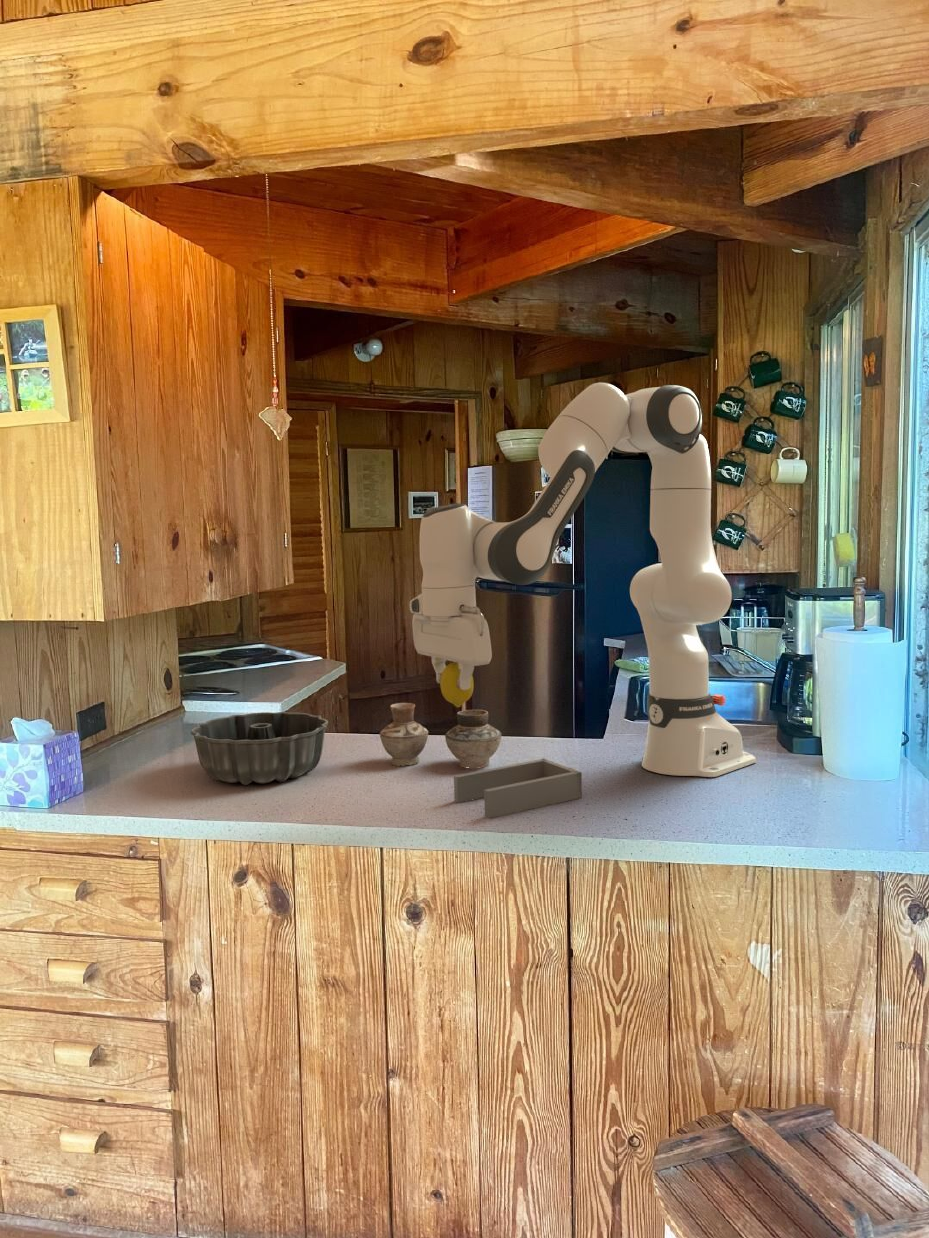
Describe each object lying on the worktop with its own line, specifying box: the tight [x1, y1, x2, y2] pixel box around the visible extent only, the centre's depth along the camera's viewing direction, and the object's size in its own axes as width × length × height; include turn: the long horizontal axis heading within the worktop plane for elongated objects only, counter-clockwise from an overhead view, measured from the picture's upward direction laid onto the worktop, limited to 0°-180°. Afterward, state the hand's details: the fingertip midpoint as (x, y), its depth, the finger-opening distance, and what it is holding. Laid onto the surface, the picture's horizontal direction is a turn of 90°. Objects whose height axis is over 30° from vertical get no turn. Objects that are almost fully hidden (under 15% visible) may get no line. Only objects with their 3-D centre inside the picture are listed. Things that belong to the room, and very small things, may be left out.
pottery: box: [379, 702, 502, 769], centre depth 184 cm, size 11×25×12 cm, turn 77°
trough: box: [453, 758, 583, 819], centre depth 160 cm, size 19×11×4 cm, turn 120°
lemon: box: [439, 661, 475, 708], centre depth 153 cm, size 6×6×8 cm
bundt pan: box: [190, 711, 329, 786], centre depth 182 cm, size 26×26×10 cm
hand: (453, 686), depth 153 cm, fingers closed on lemon, 5 cm apart
